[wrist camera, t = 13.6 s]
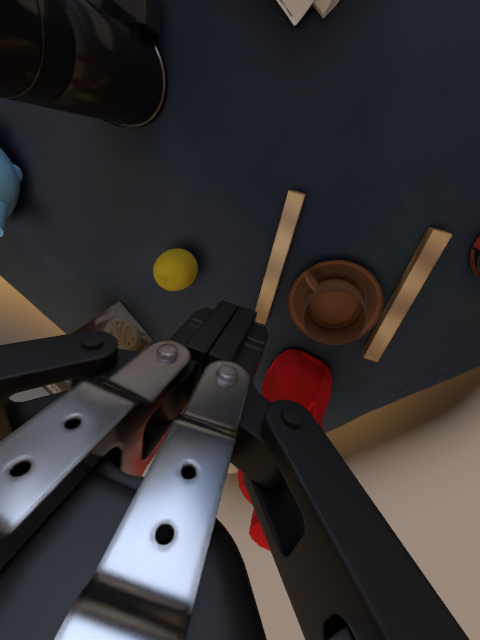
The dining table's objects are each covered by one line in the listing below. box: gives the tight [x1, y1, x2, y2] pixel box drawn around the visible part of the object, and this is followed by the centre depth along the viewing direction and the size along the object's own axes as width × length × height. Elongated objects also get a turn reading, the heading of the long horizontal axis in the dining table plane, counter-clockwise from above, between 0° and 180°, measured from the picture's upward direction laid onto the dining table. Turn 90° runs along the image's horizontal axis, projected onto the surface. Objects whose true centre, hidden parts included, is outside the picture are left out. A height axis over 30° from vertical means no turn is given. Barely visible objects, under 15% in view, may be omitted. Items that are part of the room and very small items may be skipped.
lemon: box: [153, 248, 198, 291], centre depth 40 cm, size 6×6×8 cm
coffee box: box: [42, 301, 152, 395], centre depth 46 cm, size 9×6×16 cm
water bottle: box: [238, 349, 332, 551], centre depth 36 cm, size 9×11×25 cm
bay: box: [255, 190, 452, 362], centre depth 38 cm, size 18×18×2 cm
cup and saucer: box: [288, 260, 383, 345], centre depth 37 cm, size 12×12×6 cm
